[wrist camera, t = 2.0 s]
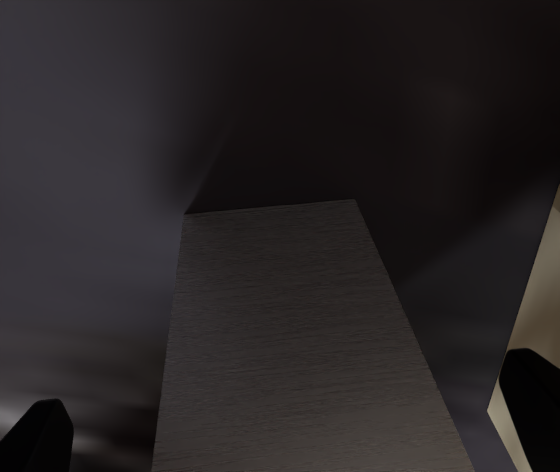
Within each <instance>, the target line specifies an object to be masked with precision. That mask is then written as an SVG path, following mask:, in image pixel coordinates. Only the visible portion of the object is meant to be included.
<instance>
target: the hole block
mask: <svg viewBox="0 0 560 472" xmlns="http://www.w3.org/2000/svg"><path fill="white" fill-rule="evenodd" d="M517 348H530V349H532V350H534V351H535V352H537V353H538V354H539V355H541V356H542V357H544V358H545V359H547V360H548V361H549V362H551V363H552V364H554V365H555V366H557V367H558V368H559V369H560V183H559V187H558V190H557V193H556V196H555V199H554V202H553V205H552V209H551V212H550V215H549V218H548V221H547V224H546V227H545V231H544V234H543V237H542V240H541V243H540V246H539V249H538V253H537V256H536V259H535V262H534V265H533V268H532V271H531V275H530V278H529V281H528V284H527V287H526V290H525V293H524V297H523V300H522V303H521V306H520V309H519V312H518V315H517V319H516V322H515V325H514V328H513V331H512V334H511V337H510V341H509V344H508V347H507V350H506V352H507V351H508V350H510V349H517ZM505 354H506V353H505ZM504 357H505V356H504ZM503 361H504V359H503ZM502 364H503V363H502ZM501 367H502V366H501ZM500 370H501V369H500ZM499 373H500V372H499ZM487 412H488V414H489V416H490V418H491V420H492V422H493V424H494V426H495V427H496V429H497V431H498V433H499V435H500V437H501V439H502V441H503V443H504V445H505V447H506V449H507V451H508V453H509V455H510V456H511V458H512V460H513V462H514V464H515V466H516V468H517V470H518V472H532V470H531V468H530V465H529V463H528V461H527V459H526V456H525V454H524V451H523V449H522V446H521V443H520V441H519V438H518V435H517V433H516V430H515V427H514V424H513V422H512V419H511V416H510V414H509V411H508V408H507V406H506V403H505V400H504V397H503V395H502V392H501V389H500V386H499V375H498V378H497V381H496V385H495V388H494V391H493V394H492V397H491V400H490V403H489V407H488V410H487Z"/></svg>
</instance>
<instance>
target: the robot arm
mask: <svg viewBox="0 0 560 472" xmlns="http://www.w3.org/2000/svg"><path fill="white" fill-rule="evenodd" d="M499 386H500V389H501V392H502V395H503V397H504V400H505V403H506V406H507V408H508V411H509V414H510V416H511V419H512V422H513V424H514V427H515V430H516V433H517V435H518V438H519V441H520V443H521V446H522V449H523V451H524V454H525V456H526V459H527V461H528V463H529V465H530V468H531V470H532V472H560V369H559V368H558V367H557V366H555V365H554V364H552V363H551V362H549V361H548V360H547V359H545V358H544V357H542V356H541V355H539V354H538V353H537V352H535V351H534V350H532V349H530V348H517V349H510V350H508V351H507V352H506V354H505V357H504V361H503V364H502V367H501V370H500V373H499ZM73 435H74V429H73V424H72V421H71V419H70V417H69V415H68V413H67V411H66V409H65V407H64V405H63V403H62V401H61V400H59V399H47V400H40V401H37V402H36V403H34V404H33V405H32V406H31V407H30V408H29V410H28V411H27V412H26V413H25V414H24V415H23V416H22V417H21V419H20V420H19V421H18V422H17V423H16V424H15V425H14V426H13V427H12V429H11V430H10V431H9V432H8V433H7V434H6V435H5V436H4V438H3V439H2V440H1V441H0V472H69V466H70V458H71V451H72V443H73Z"/></svg>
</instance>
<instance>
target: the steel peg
mask: <svg viewBox="0 0 560 472" xmlns="http://www.w3.org/2000/svg"><path fill="white" fill-rule="evenodd" d="M151 472H475V471H474V469H473V467H472V464H471V462H470V460H469V458H468V455H467V453H466V451H465V448H464V446H463V444H462V442H461V439H460V437H459V435H458V433H457V430H456V428H455V426H454V423H453V421H452V419H451V417H450V414H449V412H448V410H447V408H446V405H445V403H444V401H443V399H442V396H441V394H440V392H439V389H438V387H437V385H436V383H435V380H434V378H433V376H432V374H431V371H430V369H429V367H428V364H427V362H426V360H425V358H424V355H423V353H422V351H421V349H420V346H419V344H418V342H417V339H416V337H415V335H414V333H413V330H412V328H411V326H410V324H409V321H408V319H407V317H406V314H405V312H404V310H403V308H402V305H401V303H400V301H399V299H398V296H397V294H396V292H395V289H394V287H393V285H392V283H391V280H390V278H389V276H388V274H387V271H386V269H385V267H384V264H383V262H382V260H381V258H380V255H379V253H378V251H377V249H376V246H375V244H374V242H373V240H372V237H371V235H370V233H369V230H368V228H367V226H366V224H365V221H364V219H363V217H362V215H361V212H360V210H359V208H358V205H357V203H356V201H355V199H347V200H336V201H325V202H314V203H303V204H292V205H281V206H270V207H259V208H248V209H237V210H226V211H215V212H204V213H193V214H184V217H183V225H182V233H181V241H180V249H179V257H178V265H177V273H176V280H175V288H174V296H173V304H172V312H171V320H170V328H169V336H168V344H167V351H166V359H165V367H164V375H163V383H162V391H161V399H160V407H159V415H158V422H157V430H156V438H155V446H154V454H153V462H152V470H151Z"/></svg>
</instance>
